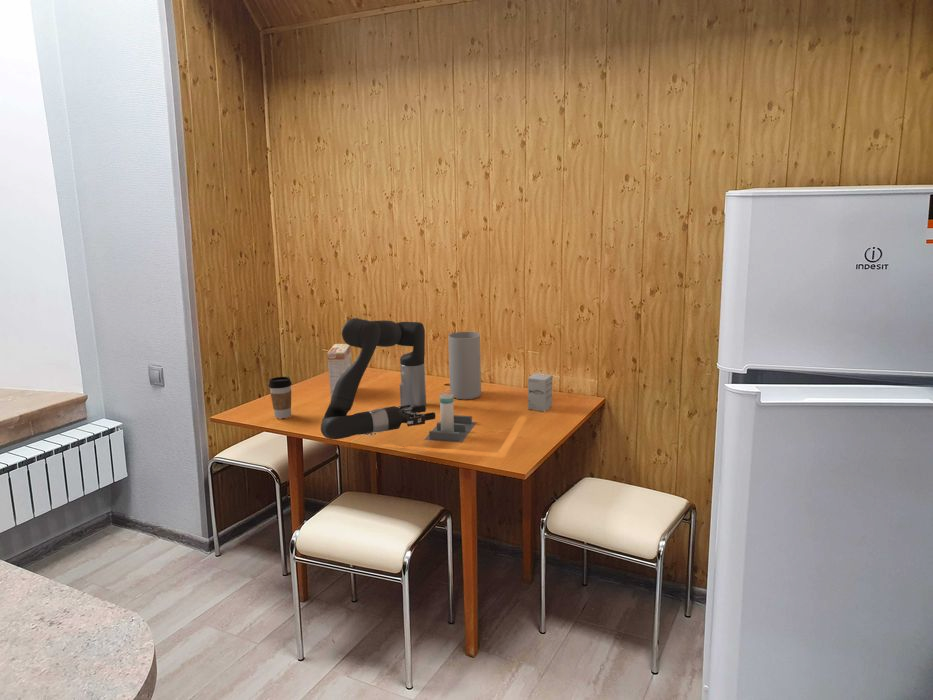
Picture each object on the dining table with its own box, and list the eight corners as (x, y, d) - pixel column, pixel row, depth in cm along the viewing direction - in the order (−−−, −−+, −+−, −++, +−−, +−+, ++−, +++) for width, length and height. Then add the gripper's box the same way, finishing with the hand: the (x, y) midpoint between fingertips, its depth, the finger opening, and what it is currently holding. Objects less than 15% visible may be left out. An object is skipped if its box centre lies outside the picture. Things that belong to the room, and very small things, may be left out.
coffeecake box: (337, 388, 307) (334, 343, 303) (354, 388, 307) (351, 343, 302) (329, 399, 293) (326, 352, 288) (347, 399, 293) (344, 352, 288)
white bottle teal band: (439, 436, 244) (437, 396, 241) (443, 431, 249) (442, 392, 245) (452, 437, 243) (451, 397, 240) (456, 432, 247) (455, 393, 244)
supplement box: (527, 409, 274) (527, 377, 271) (534, 404, 280) (534, 372, 277) (545, 412, 270) (545, 379, 267) (552, 406, 277) (552, 374, 274)
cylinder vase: (454, 401, 286) (452, 339, 280) (447, 392, 298) (445, 333, 292) (484, 398, 289) (483, 337, 283) (476, 389, 300) (475, 330, 294)
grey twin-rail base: (424, 443, 243) (423, 432, 242) (442, 423, 261) (441, 413, 260) (461, 446, 239) (461, 435, 238) (477, 426, 258) (476, 415, 257)
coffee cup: (267, 419, 271) (263, 380, 268) (280, 412, 279) (276, 374, 275) (286, 421, 268) (282, 382, 265) (298, 414, 276) (295, 376, 272)
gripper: (390, 414, 227) (438, 406, 234) (376, 402, 240) (421, 395, 246) (391, 437, 229) (438, 428, 236) (377, 424, 242) (422, 416, 248)
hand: (430, 411), depth 241 cm, fingers open, 8 cm apart
